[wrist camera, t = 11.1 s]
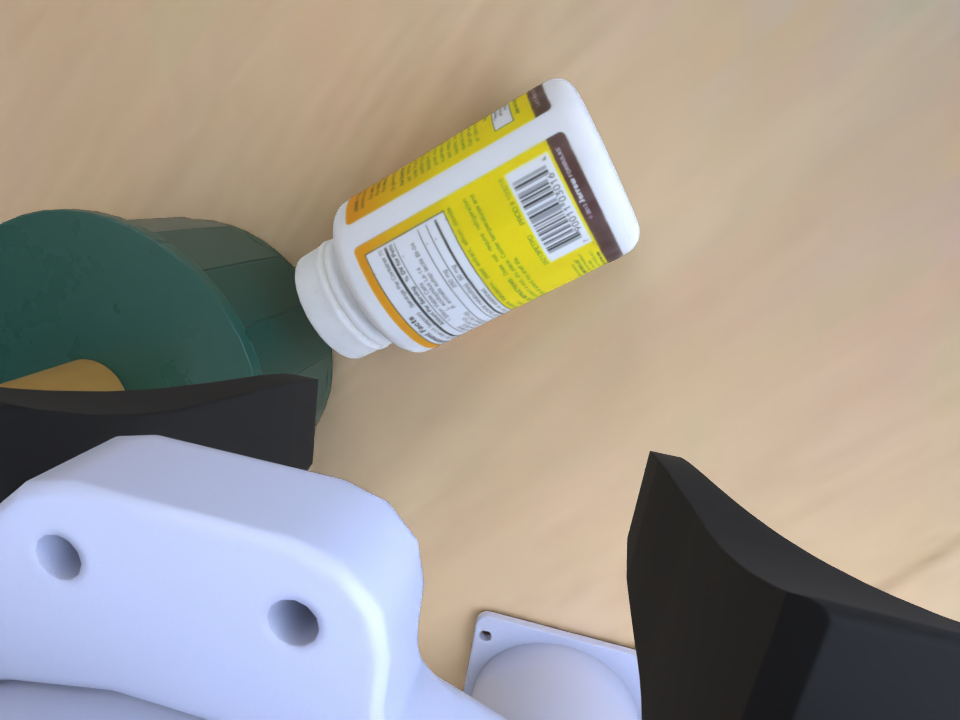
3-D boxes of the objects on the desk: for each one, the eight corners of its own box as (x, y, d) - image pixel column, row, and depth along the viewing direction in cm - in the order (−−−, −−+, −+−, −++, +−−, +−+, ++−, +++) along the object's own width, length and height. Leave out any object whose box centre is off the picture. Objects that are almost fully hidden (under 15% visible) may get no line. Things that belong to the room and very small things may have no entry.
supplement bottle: (591, 130, 21) (355, 261, 24) (550, 27, 16) (256, 209, 19) (656, 268, 19) (395, 389, 22) (634, 203, 14) (300, 371, 17)
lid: (271, 575, 21) (192, 666, 17) (-13, 499, 23) (-146, 565, 19) (289, 242, 18) (196, 257, 14) (-46, 181, 19) (-218, 177, 15)
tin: (323, 492, 26) (250, 570, 20) (104, 438, 27) (-17, 498, 22) (343, 243, 23) (263, 258, 17) (95, 199, 24) (-50, 200, 19)
